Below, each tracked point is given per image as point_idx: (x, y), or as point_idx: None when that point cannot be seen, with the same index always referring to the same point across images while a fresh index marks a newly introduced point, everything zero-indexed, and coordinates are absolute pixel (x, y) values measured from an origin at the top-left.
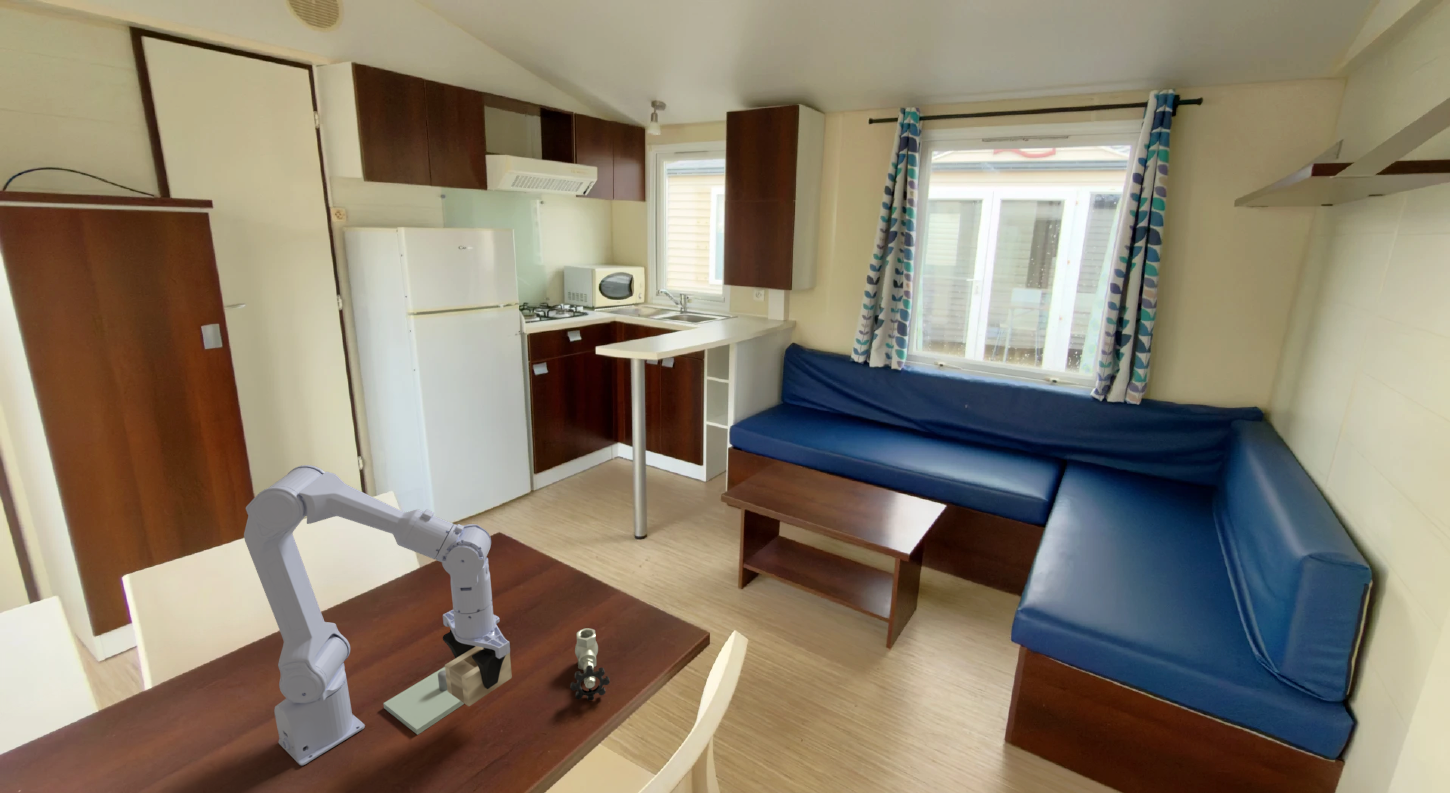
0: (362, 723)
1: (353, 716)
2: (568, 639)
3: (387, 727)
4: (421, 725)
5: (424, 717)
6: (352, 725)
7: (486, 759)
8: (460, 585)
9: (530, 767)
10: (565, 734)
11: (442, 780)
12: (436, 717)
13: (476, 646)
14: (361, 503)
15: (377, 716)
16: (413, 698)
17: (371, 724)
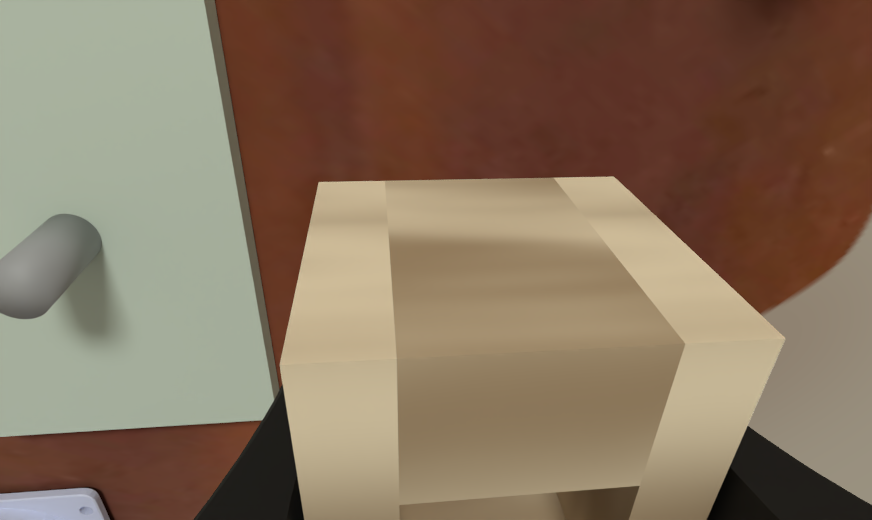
0: (73, 498)
1: (2, 504)
2: None
3: (150, 442)
4: (267, 401)
5: (229, 379)
6: (58, 516)
7: None
8: None
9: (794, 245)
10: (862, 33)
11: None
12: (265, 347)
13: (308, 507)
14: None
15: (51, 442)
16: (52, 357)
17: (87, 466)
